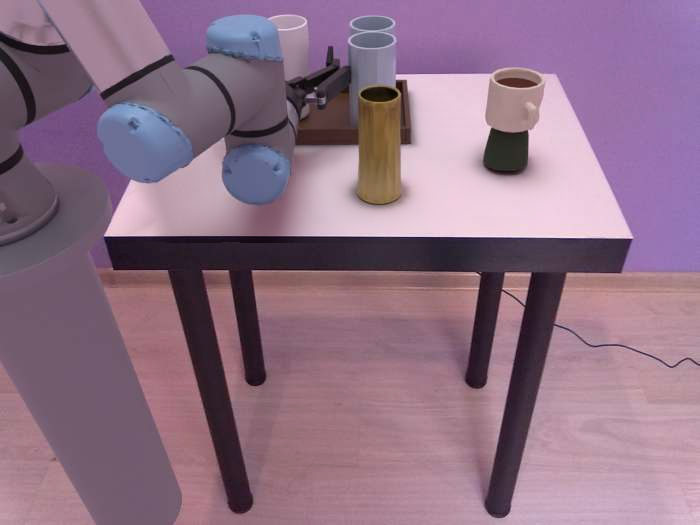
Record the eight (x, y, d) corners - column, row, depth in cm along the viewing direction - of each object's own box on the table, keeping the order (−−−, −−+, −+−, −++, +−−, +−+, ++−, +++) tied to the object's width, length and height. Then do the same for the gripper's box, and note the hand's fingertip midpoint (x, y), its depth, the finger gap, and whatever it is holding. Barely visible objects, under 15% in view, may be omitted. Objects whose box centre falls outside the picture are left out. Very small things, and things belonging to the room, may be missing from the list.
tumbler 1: (351, 117, 102) (348, 31, 93) (352, 98, 107) (350, 15, 98) (394, 117, 101) (395, 30, 92) (393, 98, 107) (394, 15, 98)
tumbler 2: (349, 138, 96) (347, 49, 87) (351, 117, 102) (348, 31, 93) (395, 138, 96) (396, 48, 87) (394, 117, 101) (395, 30, 92)
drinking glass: (306, 102, 105) (299, 11, 95) (320, 119, 100) (314, 25, 90) (267, 110, 103) (256, 18, 93) (280, 128, 98) (269, 32, 89)
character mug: (545, 180, 86) (564, 91, 77) (498, 188, 84) (511, 98, 76) (510, 142, 94) (523, 58, 85) (466, 150, 92) (475, 65, 84)
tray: (243, 145, 96) (241, 129, 94) (260, 95, 109) (258, 81, 107) (410, 143, 94) (411, 128, 93) (406, 93, 108) (406, 79, 106)
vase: (384, 210, 81) (385, 109, 72) (347, 195, 84) (344, 96, 75) (410, 189, 85) (414, 90, 76) (373, 175, 88) (373, 78, 79)
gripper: (181, 145, 83) (212, 79, 99) (367, 143, 82) (367, 77, 99) (169, 92, 78) (203, 32, 95) (366, 90, 77) (367, 29, 94)
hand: (287, 55), depth 97 cm, fingers open, 13 cm apart
